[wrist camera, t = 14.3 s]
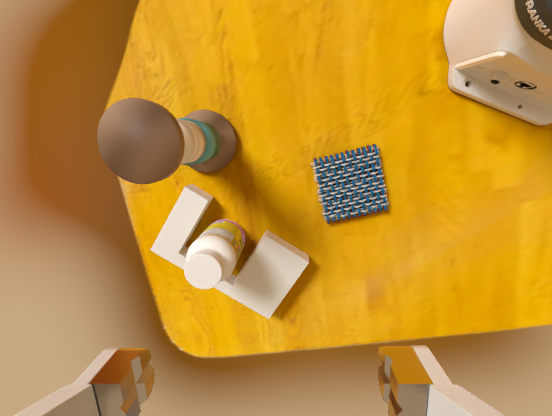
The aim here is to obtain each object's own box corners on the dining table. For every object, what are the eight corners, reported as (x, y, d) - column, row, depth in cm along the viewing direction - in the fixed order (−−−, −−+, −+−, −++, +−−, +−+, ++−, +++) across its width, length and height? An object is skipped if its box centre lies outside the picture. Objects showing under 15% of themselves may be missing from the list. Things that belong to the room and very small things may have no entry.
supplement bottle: (236, 262, 47) (216, 306, 35) (200, 245, 47) (167, 283, 34) (252, 228, 46) (238, 261, 33) (215, 210, 45) (187, 237, 33)
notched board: (308, 254, 46) (309, 262, 43) (269, 308, 49) (268, 319, 46) (192, 183, 45) (185, 186, 42) (158, 243, 47) (150, 250, 44)
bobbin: (247, 131, 42) (210, 124, 23) (218, 182, 44) (161, 214, 25) (195, 98, 42) (111, 61, 22) (168, 151, 44) (69, 159, 24)
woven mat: (323, 223, 45) (324, 227, 44) (308, 159, 43) (309, 159, 41) (388, 209, 44) (392, 212, 42) (377, 142, 42) (381, 142, 40)
